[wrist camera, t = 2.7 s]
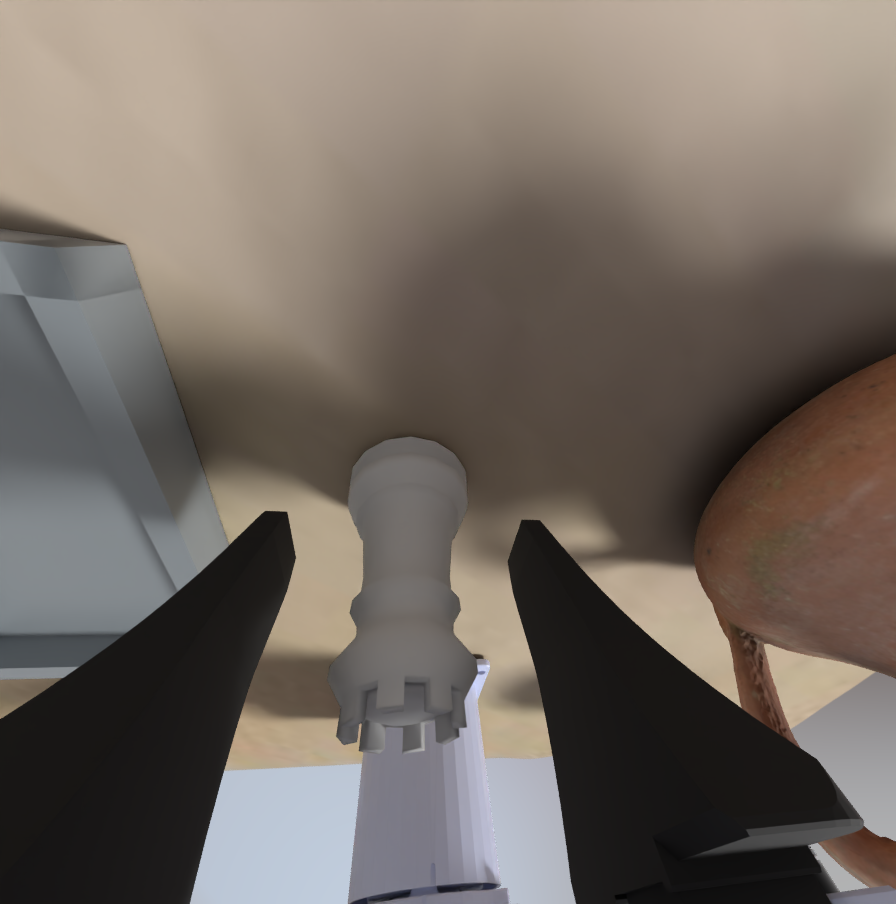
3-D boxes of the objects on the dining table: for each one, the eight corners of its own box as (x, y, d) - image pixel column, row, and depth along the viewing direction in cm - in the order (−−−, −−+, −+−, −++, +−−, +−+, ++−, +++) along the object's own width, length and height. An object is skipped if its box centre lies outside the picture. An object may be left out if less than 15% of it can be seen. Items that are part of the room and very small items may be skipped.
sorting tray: (258, 632, 18) (242, 673, 16) (0, 635, 16) (-47, 680, 15) (126, 244, 8) (54, 247, 7) (-535, 160, 7) (-846, 136, 5)
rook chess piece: (408, 534, 15) (401, 780, 8) (327, 477, 13) (229, 743, 6) (487, 480, 13) (557, 721, 7) (411, 406, 11) (405, 648, 5)
